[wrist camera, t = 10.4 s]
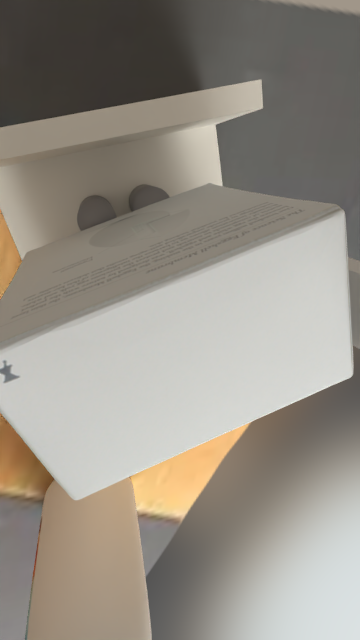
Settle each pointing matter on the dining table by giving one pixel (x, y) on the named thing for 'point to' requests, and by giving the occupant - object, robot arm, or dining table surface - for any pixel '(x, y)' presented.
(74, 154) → the peg frame
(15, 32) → the dining table surface
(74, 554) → the milk bottle
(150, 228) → the skincare box
